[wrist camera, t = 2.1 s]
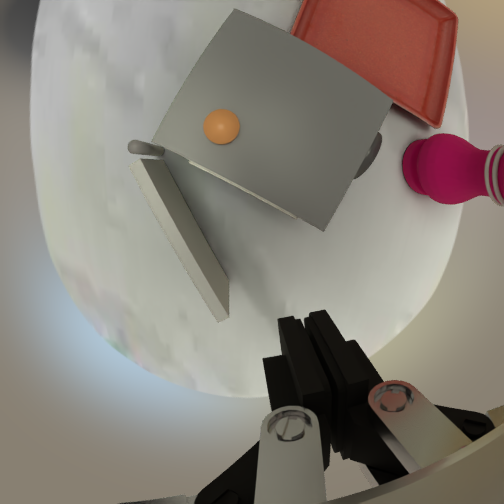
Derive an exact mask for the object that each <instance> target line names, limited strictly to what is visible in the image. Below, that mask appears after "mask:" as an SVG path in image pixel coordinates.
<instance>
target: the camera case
mask: <svg viewBox="0 0 504 504" xmlns="http://www.w3.org/2000/svg"><path fill="white" fill-rule="evenodd" d="M392 103H393V100H392V99H391V98H390V97H388V96H387V95H386V94H384V93H383V92H382V91H380V90H379V89H378V88H376V87H375V86H374V85H372V84H371V83H369V82H368V81H367V80H365V79H364V78H362V77H361V76H359V75H358V74H356V73H355V72H353V71H352V70H350V69H349V68H347V67H346V66H344V65H343V64H341V63H340V62H338V61H336V60H335V59H333V58H332V57H330V56H328V55H327V54H325V53H323V52H322V51H320V50H318V49H317V48H315V47H313V46H311V45H310V44H308V43H306V42H304V41H302V40H301V39H299V38H297V37H295V36H293V35H291V34H289V33H287V32H285V31H283V30H281V29H279V28H277V27H275V26H273V25H271V24H269V23H267V22H265V21H263V20H260V19H258V18H256V17H254V16H251V15H249V14H247V13H244V12H242V11H240V10H237V9H234V10H233V11H232V13H231V14H230V15H229V17H228V18H227V19H226V21H225V22H224V23H223V25H222V26H221V28H220V29H219V30H218V32H217V33H216V35H215V36H214V37H213V39H212V40H211V42H210V43H209V45H208V46H207V48H206V49H205V51H204V52H203V54H202V55H201V57H200V58H199V60H198V61H197V63H196V64H195V66H194V67H193V69H192V71H191V72H190V74H189V75H188V77H187V79H186V80H185V82H184V84H183V85H182V87H181V89H180V90H179V92H178V94H177V95H176V97H175V99H174V101H173V102H172V104H171V106H170V108H169V109H168V111H167V113H166V115H165V117H164V118H163V120H162V122H161V124H160V126H159V128H158V130H157V132H156V133H155V135H154V137H153V139H152V141H151V142H154V143H156V144H158V145H160V146H162V147H164V148H166V149H168V150H170V151H172V152H174V153H176V154H179V155H181V156H183V157H185V158H187V159H189V160H190V161H189V163H190V164H192V165H194V166H196V167H198V168H200V169H202V170H204V171H206V172H208V173H210V174H212V175H214V176H216V177H218V178H220V179H222V180H224V181H226V182H228V183H230V184H232V185H233V186H235V187H237V188H239V189H241V190H243V191H245V192H247V193H249V194H251V195H252V196H254V197H256V198H258V199H260V200H262V201H264V202H266V203H267V204H269V205H271V206H273V207H275V208H277V209H278V210H280V211H282V212H284V213H286V214H288V215H289V216H291V217H293V218H295V219H297V218H298V217H299V218H300V219H302V220H304V221H306V222H308V223H309V224H311V225H313V226H315V227H316V228H318V229H320V230H322V231H323V232H324V230H325V229H326V227H327V225H328V223H329V222H330V220H331V218H332V216H333V214H334V213H335V211H336V209H337V207H338V206H339V204H340V202H341V200H342V198H343V197H344V195H345V193H346V191H347V189H348V188H349V186H350V184H351V182H352V180H353V179H356V178H358V177H359V176H361V175H362V174H363V173H364V172H365V171H366V170H367V169H368V168H369V166H370V165H371V164H372V162H373V161H374V159H375V157H376V156H377V154H378V152H379V149H380V146H381V143H382V135H381V134H380V133H379V132H378V131H379V129H380V127H381V125H382V123H383V121H384V119H385V117H386V115H387V113H388V111H389V109H390V107H391V105H392Z"/></svg>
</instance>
